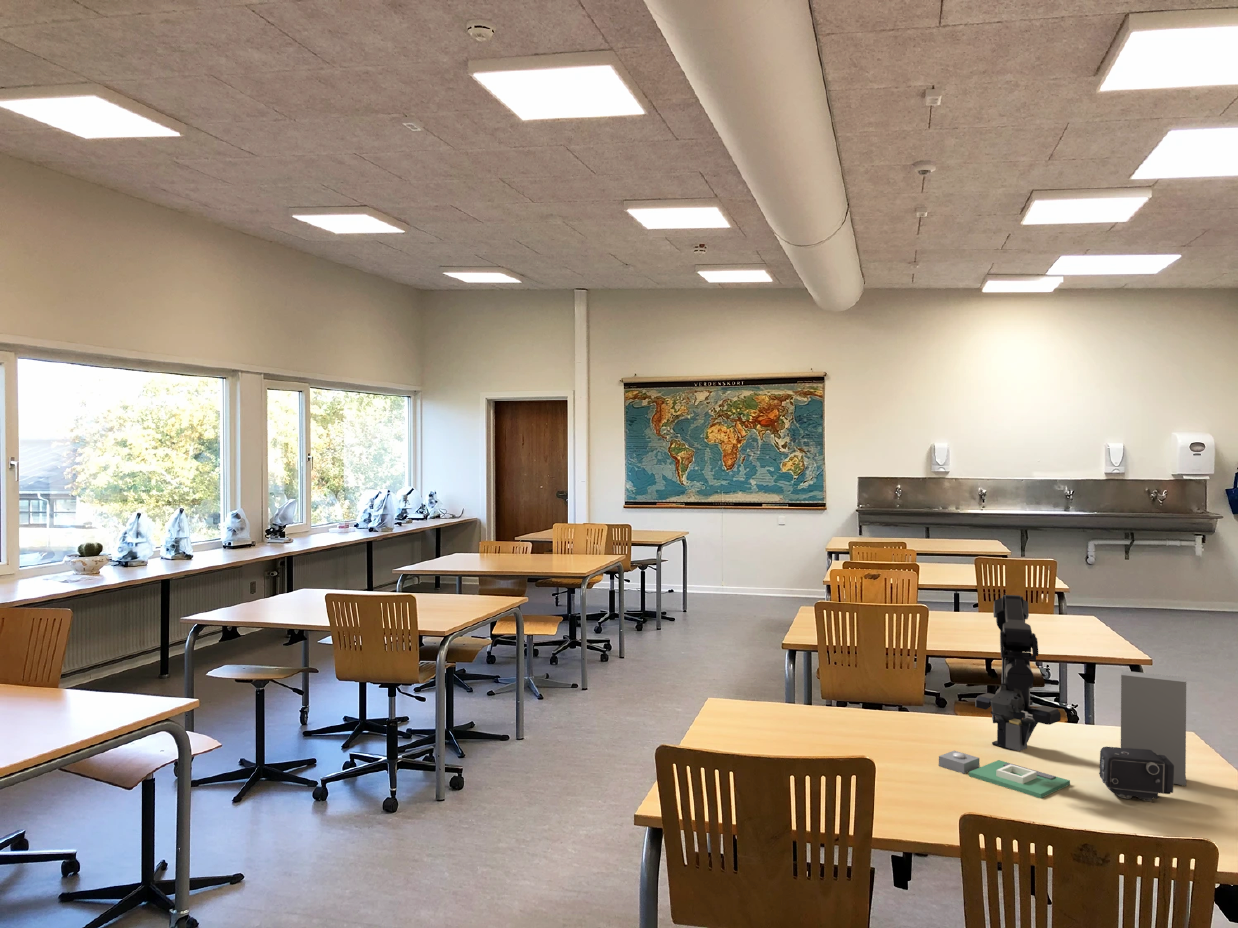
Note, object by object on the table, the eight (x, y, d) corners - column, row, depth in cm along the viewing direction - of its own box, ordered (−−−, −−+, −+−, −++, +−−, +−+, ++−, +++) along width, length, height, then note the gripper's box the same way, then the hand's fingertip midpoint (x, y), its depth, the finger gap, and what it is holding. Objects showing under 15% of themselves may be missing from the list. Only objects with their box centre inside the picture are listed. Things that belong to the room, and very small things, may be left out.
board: (998, 763, 228) (998, 753, 228) (1069, 784, 213) (1069, 774, 213) (968, 775, 219) (968, 765, 219) (1040, 798, 205) (1040, 787, 205)
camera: (1110, 807, 202) (1181, 807, 199) (1105, 759, 202) (1176, 758, 199) (1097, 790, 212) (1166, 790, 209) (1093, 744, 212) (1161, 743, 209)
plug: (1013, 744, 218) (1013, 717, 218) (1027, 747, 215) (1027, 720, 215) (1005, 747, 216) (1005, 719, 216) (1019, 750, 213) (1019, 723, 213)
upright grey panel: (1185, 778, 217) (1186, 676, 217) (1186, 786, 212) (1187, 682, 212) (1120, 768, 224) (1121, 669, 224) (1119, 775, 219) (1120, 674, 219)
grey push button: (954, 759, 230) (954, 748, 230) (979, 767, 225) (979, 755, 225) (938, 765, 226) (938, 753, 226) (964, 773, 221) (964, 761, 221)
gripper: (963, 676, 218) (962, 740, 218) (1038, 692, 203) (1037, 761, 203) (987, 669, 225) (987, 731, 225) (1061, 685, 210) (1061, 751, 210)
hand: (1016, 743), depth 216 cm, fingers closed on plug, 3 cm apart
